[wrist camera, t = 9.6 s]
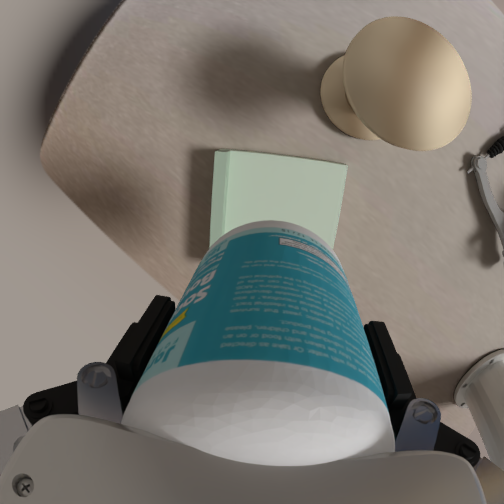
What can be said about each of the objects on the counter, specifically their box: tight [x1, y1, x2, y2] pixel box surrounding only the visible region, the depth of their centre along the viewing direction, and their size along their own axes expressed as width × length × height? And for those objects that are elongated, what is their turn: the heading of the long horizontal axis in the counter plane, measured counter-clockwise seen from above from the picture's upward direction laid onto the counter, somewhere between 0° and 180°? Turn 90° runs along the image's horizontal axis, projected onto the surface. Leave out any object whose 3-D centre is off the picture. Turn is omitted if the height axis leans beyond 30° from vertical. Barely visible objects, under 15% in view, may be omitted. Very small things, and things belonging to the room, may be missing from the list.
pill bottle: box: [121, 220, 395, 466], centre depth 10 cm, size 8×7×14 cm
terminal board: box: [209, 149, 348, 250], centre depth 27 cm, size 11×11×3 cm
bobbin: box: [320, 17, 471, 151], centre depth 18 cm, size 8×8×11 cm
